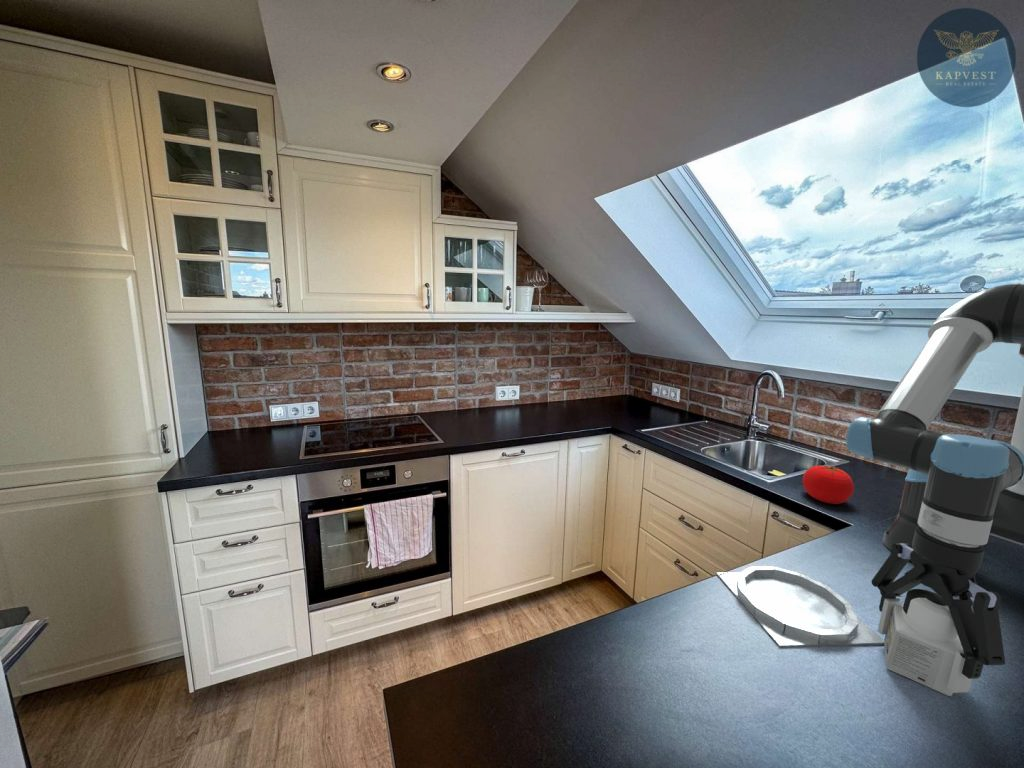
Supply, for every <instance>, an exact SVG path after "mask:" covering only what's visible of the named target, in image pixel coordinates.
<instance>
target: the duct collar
mask: <svg viewBox="0 0 1024 768" xmlns="http://www.w3.org/2000/svg"><path fill="white" fill-rule="evenodd" d="M727 572H728V571H727ZM727 572H719V571H718V572H716V576H718V575H720V574H722V575H720V576H718V578H719V579H720V580H721V581H722V582H723V584H724V585H725V586H726V587H727V588H728V589H729V591H730V592H731V593H732V594H733V595H734V597H736V599H737V600H738V601H739V602H740V603H741V605H742V606H743V607H744V608H745V609H746V610H747V611H748V613H749V614H750V615H751V616H752V617H753V618H754V620H755V621H757V623H758V624H759V625H760V627H762V629H763V630H764V631H765V632H766V634H767V635H769V637H770V638H771V639H772V641H774V643H775V644H776V645H777V646H778V647H779V648H792V647H793V648H796V647H797V648H798V647H799V648H800V647H803V648H804V647H834V646H835V647H837V646H838V647H839V646H840V647H841V646H872V645H873V646H874V645H875V646H877V645H878V646H879V645H880V646H881V645H884V646H885V644H884V638H883V637H881V635H879V634H878V633H877V632H875V631H874V630H873V629H872V628H871V627H870V626H868V625H867V624H866V623H865V622H864V621H863V620H861V619H860V618H859V617H858V616H857V615H856V613H855V610H854V607H853V605H852V604H851V603H850V602H849V601H847V600H846V599H845V598H843V597H842V596H841V595H840V594H838V593H837V592H836V591H835V590H834V589H833V588H832V587H830V586H828V585H826V584H823V583H822V582H819V581H818V580H815V579H813V578H812V577H810V576H809V575H807V574H806V573H805V572H804V571H794V570H793V571H792V570H789V569H785V568H782V567H778V566H772V565H770V566H769V565H768V566H767V565H766V566H764V565H763V566H757V565H754V566H749V567H747V568H745V569H744V570H742V571H741V572H740V571H739V572H738V571H737V572H735V571H734V572H731V571H730V572H728V573H727ZM723 573H724V574H723Z"/></svg>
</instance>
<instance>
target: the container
mask: <svg viewBox="0 0 1024 768" xmlns="http://www.w3.org/2000/svg"><path fill="white" fill-rule="evenodd" d="M883 639H884V644H885V645H884V658H885V659H884V662H885V668H886V669H887V670H890V671H892V672H894V673H896V674H898V675H901V676H902V677H906V678H907V679H910V680H912V681H914V682H916V683H918V684H921V685H923V686H925V687H928V688H929V689H932V690H934V691H937V692H939V693H941V694H943V695H945V696H948V697H953V694H954V693H952V692H951V691H950V690H948V689H947V686H948V682H949V678H950V674H951V671H952V667H953V663H954V659H955V655H956V651H963V648H962V645H961V642H960V639H959V637H958V634H957V631H956V628H955V625H954V622H953V619H952V616H951V613H950V611H949V608H948V606H947V605H946V604H945V603H944V602H943V599H942V596H941V595H939V594H937V593H936V592H935V591H934V592H933V591H930V590H928V589H922V588H912V589H911V590H909V591H907V592H906V595H905V599H904V601H903V605H902V606H899V605H894V607H893V610H892V614H891V617H890V621H889V625H888V628H887V632H886V634H884V638H883Z"/></svg>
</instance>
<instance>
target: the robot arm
mask: <svg viewBox="0 0 1024 768" xmlns="http://www.w3.org/2000/svg"><path fill="white" fill-rule="evenodd" d="M927 337H928V340H927V342H926V343H925V344H924V346H923V348H921V350H920V352H919V353H918V355H917V356H916V358H915V359H914V360H913V362H912V364H911V365H910V366H909V367H908V369H907V371H906V372H905V374H904V375H903V376H902V377H901V379H900V381H899V382H898V384H897V385H896V386H895V388H894V389H893V391H892V392H891V394H890V395H889V397H888V398H887V399H886V401H885V402H884V403H883V405H882V407H881V408H880V410H878V412H877V414H876V415H875V417H874V418H872V417H864V416H859V417H857V418H855V419H854V420H852V422H850V424H849V425H848V428H847V430H846V434H845V435H846V436H845V443H846V448H847V450H849V451H850V452H851V453H853V454H855V455H858V456H861V457H862V458H866V459H869V460H872V461H878V462H882V463H885V464H889V465H891V466H892V465H894V466H897V467H900V468H905V469H908V471H907V474H906V477H904V478H905V479H904V482H905V483H904V486H903V490H902V496H901V500H900V503H899V504H900V505H899V509H898V510H899V511H898V512H897V513H898V514H897V516H896V517H895V519H894V520H893V521H892V523H891V524H890V525H889V526H888V527H887V529H885V531H884V533H883V538H882V544H883V545H884V546H885V547H886V548H887V549H888V550H890V554H889V556H888V557H887V559H886V560H885V561H884V562H883V564H882V565H881V567H880V568H879V570H878V571H877V572H876V574H874V576H873V578H872V579H871V584H872V586H873V587H875V588H876V587H877V589H878V590H879V593H880V595H881V597H880V599H879V600H880V601H879V606H878V611H879V612H881V615H880V619H879V623H878V627H877V632H878V633H879V634H880V636H881V635H886V632H887V628H888V625H889V621H890V617H891V614H892V610H893V607H894V605H899V606H902V607H903V605H904V601H903V600H902V599H900V597H902V598H903V594H905V593H907V592H908V591H909V590H912V589H915V588H916V587H917V586H920V585H923V586H925V587H926V588H930V589H931V590H932V591H934V593H937V594H939V595H941V596H942V599H943V602H944V603H945V604H946V605H947V606H948V608H949V611H950V613H951V616H952V619H953V622H954V625H955V628H956V631H957V634H958V637H959V639H960V642H961V645H962V648H963V651H956V655H955V659H954V663H953V667H952V671H951V674H950V678H949V682H948V686H947V689H948V690H950V691H951V692H952V693H953V694H954V693H957V694H958V693H969V692H970V690H971V686H972V682H973V680H975V679H977V680H978V679H979V678H981V675H982V671H983V668H984V666H986V667H987V666H1005V664H1006V657H1005V651H1004V650H1005V649H1004V643H1003V637H1002V630H1001V629H1002V628H1001V623H1000V614H999V608H1000V605H1001V603H1002V596H1001V595H1000V593H999V592H997V591H988V590H986V589H985V588H983V587H981V586H980V585H978V583H977V579H976V574H977V573H978V571H980V568H981V567H982V562H983V559H984V555H985V551H986V549H985V547H984V545H986V544H987V543H988V541H989V537H990V536H994V537H997V538H999V539H1003V540H1006V541H1007V542H1012V543H1015V544H1018V545H1020V546H1023V547H1024V386H1023V387H1022V391H1021V396H1020V401H1019V404H1018V409H1017V413H1016V418H1015V423H1014V427H1013V432H1012V436H1011V441H1010V443H1008V442H1005V441H1002V440H997V439H989V438H985V437H979V436H974V435H967V434H959V433H957V434H956V433H955V434H953V433H947V434H946V433H942V432H937V431H932V430H928V429H929V428H930V427H931V425H932V424H933V422H934V420H935V418H936V417H937V415H938V414H939V413H940V411H941V409H942V408H943V407H944V405H945V403H946V402H947V401H948V399H949V398H950V395H952V392H953V391H954V390H955V388H956V387H957V386H958V383H959V382H960V380H961V379H962V378H963V376H964V374H965V373H966V372H967V370H968V368H969V367H970V365H971V363H972V362H973V360H974V359H975V357H976V356H977V354H978V353H981V352H983V351H985V350H987V349H988V348H990V347H991V345H992V344H995V343H1005V344H1017V345H1020V347H1019V352H1018V355H1019V356H1020V357H1021V358H1023V359H1024V284H1022V283H1011V284H1002V285H996V286H993V287H990V288H986V289H982V290H980V291H978V292H975V293H973V294H970V295H969V296H967V297H965V298H963V299H961V300H960V301H957V302H955V303H954V304H953V305H951V306H949V307H948V308H947V309H945V310H944V311H943V312H942V313H941V314H940V315H938V316H937V318H936V319H935V320H934V321H933V323H932V324H931V326H930V327H929V329H928V331H927ZM909 562H911V564H912V566H913V567H912V568H911V569H909V570H908V571H906V572H905V573H904V575H902V576H901V577H899V578H897V577H898V576H899V575H900V573H901V572H902V570H903V569H904V568H905V566H907V564H908V563H909ZM896 578H897V579H896ZM970 593H971V595H972V596H971V595H970ZM955 597H958V598H957V599H955Z"/></svg>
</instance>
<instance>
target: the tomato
mask: <svg viewBox="0 0 1024 768" xmlns="http://www.w3.org/2000/svg"><path fill="white" fill-rule="evenodd" d="M802 486H803V488H804V490H805V492H806V494H809V496H810V497H812V498H813V499H815V500H818V501H820V502H822V503H826V504H832V505H833V504H834V505H840V504H843V503H845V502H847V501H848V500H849V499H850V498H851V497H852V495H853V494H854V491H855V484H854V482H853V479H852V477H851V476H850V475H849V474H848V473H847V472H845V471H844V470H842V469H840V468H839V467H836V466H830V465H823V464H822V465H814V466H811V467H810V468H808V469H807V470H806V471H805V472H804V473H803V476H802Z"/></svg>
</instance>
